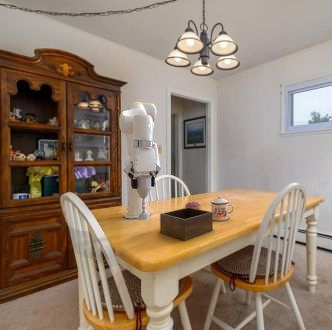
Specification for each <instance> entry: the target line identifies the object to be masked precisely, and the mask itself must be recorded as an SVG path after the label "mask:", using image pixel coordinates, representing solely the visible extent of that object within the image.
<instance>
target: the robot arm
mask: <svg viewBox="0 0 332 330" xmlns="http://www.w3.org/2000/svg"><path fill="white" fill-rule="evenodd" d="M157 115H158V110H157V107H156V105H155V104H154V103H152V102H143V101H131V102H129V104H128V105H127V109H126V110H123V111H122V112H120V114H119V117H118V126H119V130H120V131H121V132H122V133H123V134H125V136H126V146H127V147H126V148H127V154H128V156H129V158H127V159H126V160H125V164H124V165H125V166H124V168H123V169H122V170H123V172H124V173H125V174H126V183H127V185H126V186H127V189H126V191H127V207H126V211H127V212H126V213H124V218H126V219H130V220H131V219H138V216H139V214H140V213H142V211H143V209H142V198H140V196H139V194H138V192H137V190H136V189H137V179H136V177H137V176H139V175H152V177H151V188H154V187H155V186H156V178H157V175H158V174H159V173H160V171H161V169H162V167H161V161H160V154H159V147H158V144H157V143H156V142H154V139H153V137H154V135H153V133H154V131H155V127H156V125H155V123H156V119H157ZM145 202H146V203H145V206H146V207H145V211H146V212H147V213H148V215H149V216H150V215H151V213H150V211H148V196H147V197H146V198H145Z"/></svg>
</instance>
